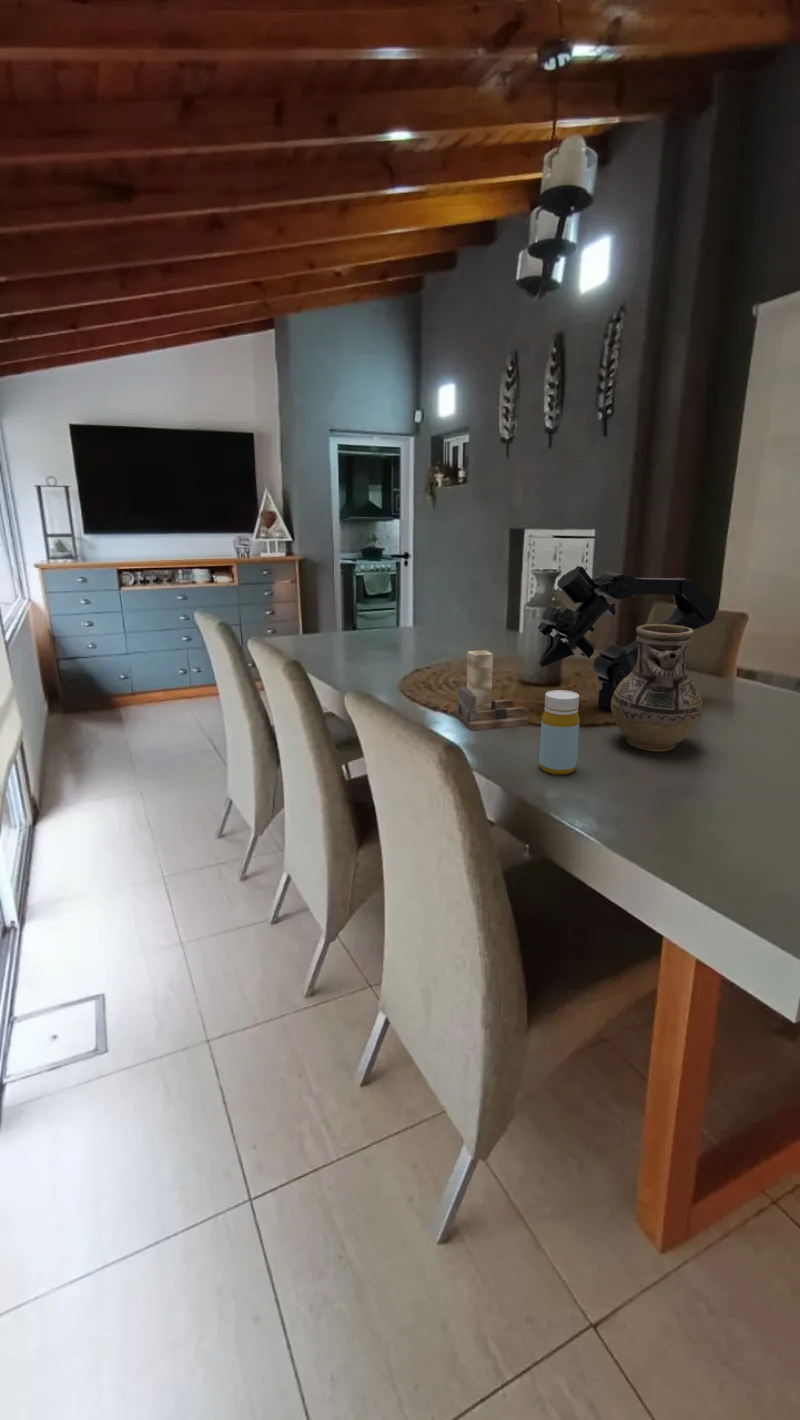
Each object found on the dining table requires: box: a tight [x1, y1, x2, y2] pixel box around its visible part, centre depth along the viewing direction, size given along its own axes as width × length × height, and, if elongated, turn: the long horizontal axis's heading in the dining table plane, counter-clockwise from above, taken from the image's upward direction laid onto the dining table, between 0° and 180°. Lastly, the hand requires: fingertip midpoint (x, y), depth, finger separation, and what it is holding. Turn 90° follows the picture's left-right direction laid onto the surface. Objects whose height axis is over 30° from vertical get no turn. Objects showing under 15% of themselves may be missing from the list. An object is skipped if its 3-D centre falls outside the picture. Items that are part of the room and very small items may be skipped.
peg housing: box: [453, 686, 529, 732], centre depth 152 cm, size 14×12×8 cm
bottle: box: [538, 689, 581, 776], centre depth 123 cm, size 7×7×15 cm
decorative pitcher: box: [610, 623, 704, 753], centre depth 133 cm, size 22×18×25 cm
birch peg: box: [466, 649, 494, 711], centre depth 150 cm, size 4×4×15 cm
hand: (540, 665), depth 153 cm, fingers closed
